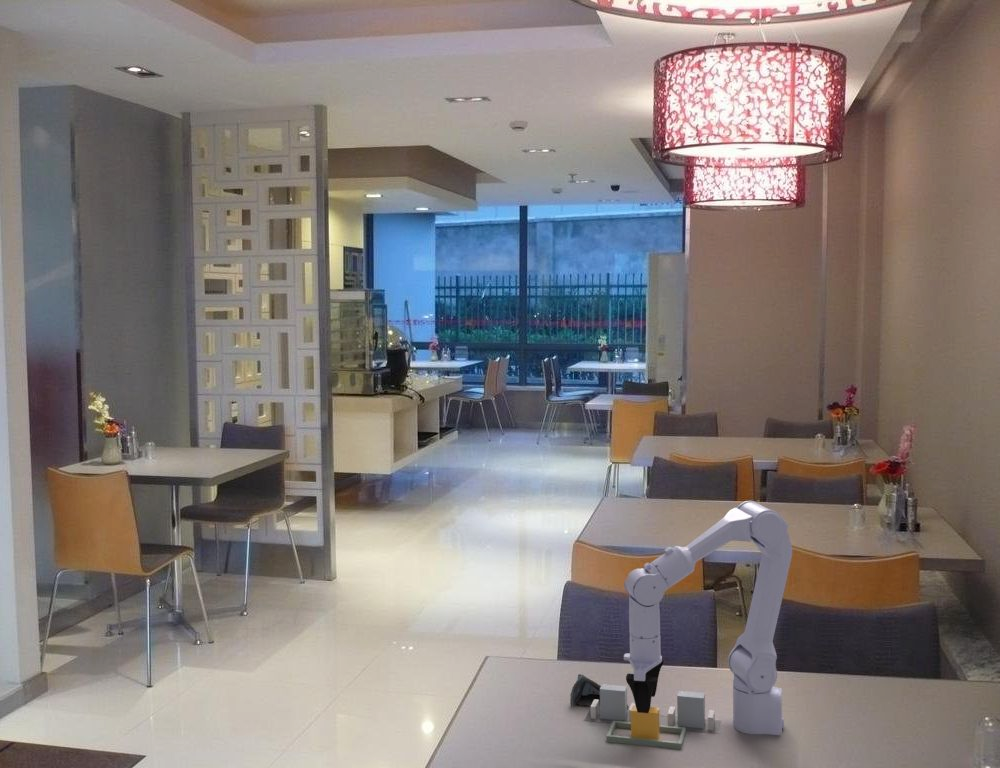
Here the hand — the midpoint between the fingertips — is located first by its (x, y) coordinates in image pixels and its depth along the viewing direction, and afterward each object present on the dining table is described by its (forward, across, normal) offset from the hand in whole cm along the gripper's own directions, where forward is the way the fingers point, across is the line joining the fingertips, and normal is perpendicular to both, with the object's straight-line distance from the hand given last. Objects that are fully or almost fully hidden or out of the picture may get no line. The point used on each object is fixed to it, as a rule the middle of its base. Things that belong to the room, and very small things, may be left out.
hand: (646, 703), depth 192 cm
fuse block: (+8, -7, 0) cm, 11 cm away
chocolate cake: (+8, -14, -12) cm, 20 cm away
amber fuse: (+7, 0, 0) cm, 7 cm away
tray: (+8, 0, 0) cm, 8 cm away
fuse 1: (+6, -7, -8) cm, 12 cm away
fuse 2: (+6, -7, +8) cm, 12 cm away
